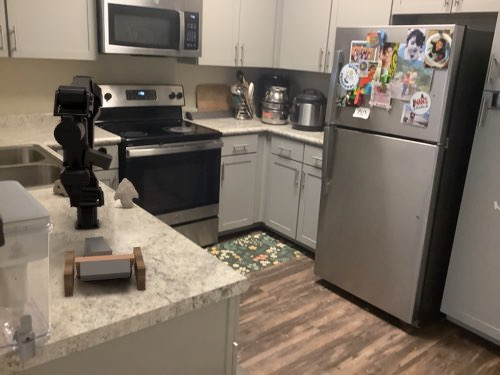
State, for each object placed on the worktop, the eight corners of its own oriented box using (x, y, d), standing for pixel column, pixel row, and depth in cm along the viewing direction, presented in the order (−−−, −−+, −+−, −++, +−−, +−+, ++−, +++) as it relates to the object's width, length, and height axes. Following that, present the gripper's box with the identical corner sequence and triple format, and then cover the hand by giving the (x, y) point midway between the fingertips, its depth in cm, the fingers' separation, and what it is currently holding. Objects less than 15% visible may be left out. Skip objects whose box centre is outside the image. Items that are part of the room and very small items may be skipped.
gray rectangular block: (92, 270, 106) (84, 254, 115) (112, 268, 108) (102, 252, 118) (92, 252, 105) (84, 237, 115) (112, 250, 107) (102, 236, 117)
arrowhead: (137, 205, 155) (137, 177, 153) (139, 208, 153) (139, 179, 150) (113, 207, 152) (112, 177, 150) (114, 209, 150) (114, 179, 147)
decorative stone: (101, 193, 167) (100, 171, 164) (61, 199, 157) (60, 176, 155) (90, 187, 172) (90, 166, 170) (51, 193, 162) (50, 170, 160)
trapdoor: (77, 289, 103) (77, 271, 105) (132, 284, 107) (131, 267, 109) (75, 276, 95) (75, 257, 96) (135, 271, 99) (134, 253, 100)
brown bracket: (67, 271, 107) (66, 251, 105) (140, 266, 112) (140, 246, 110) (64, 296, 96) (63, 274, 94) (145, 289, 101) (145, 268, 100)
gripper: (111, 147, 105) (112, 212, 109) (108, 133, 122) (109, 190, 126) (58, 146, 101) (61, 214, 105) (63, 132, 118) (65, 191, 122)
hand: (77, 201), depth 115 cm, fingers open, 9 cm apart
